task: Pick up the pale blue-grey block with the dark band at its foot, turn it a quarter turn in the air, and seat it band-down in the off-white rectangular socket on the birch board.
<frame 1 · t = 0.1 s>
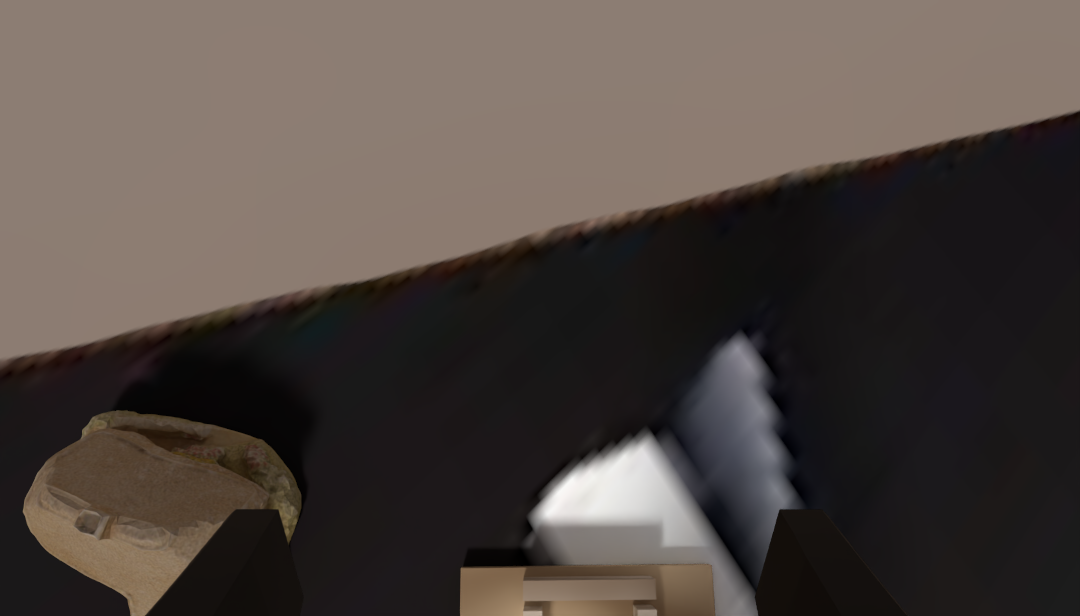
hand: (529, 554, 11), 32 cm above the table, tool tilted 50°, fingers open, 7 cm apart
ceramic model: (191, 517, 42), on the table
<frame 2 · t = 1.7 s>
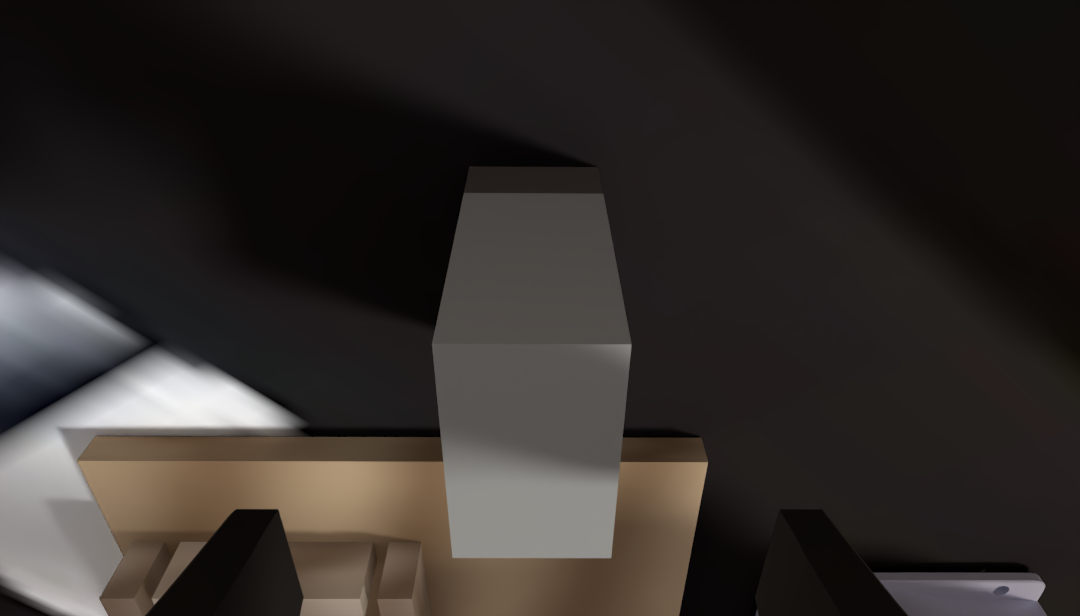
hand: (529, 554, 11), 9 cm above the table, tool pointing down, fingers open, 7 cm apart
birch board: (419, 584, 25), on the table
peg: (533, 260, 18), on the table
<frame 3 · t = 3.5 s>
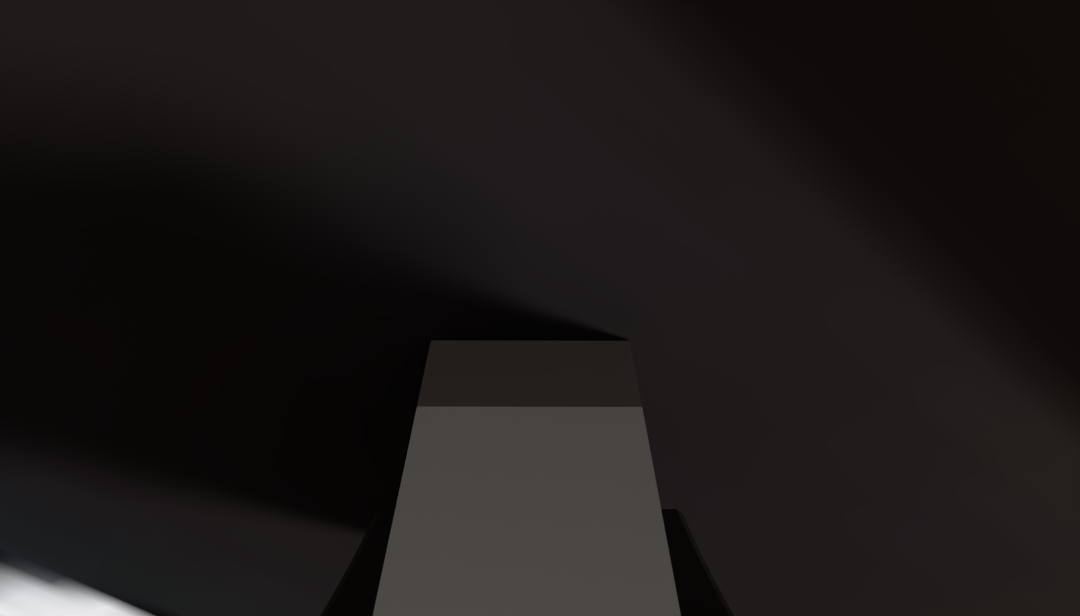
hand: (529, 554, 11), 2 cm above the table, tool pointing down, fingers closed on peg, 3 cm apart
peg: (530, 459, 12), on the table, touching gripper
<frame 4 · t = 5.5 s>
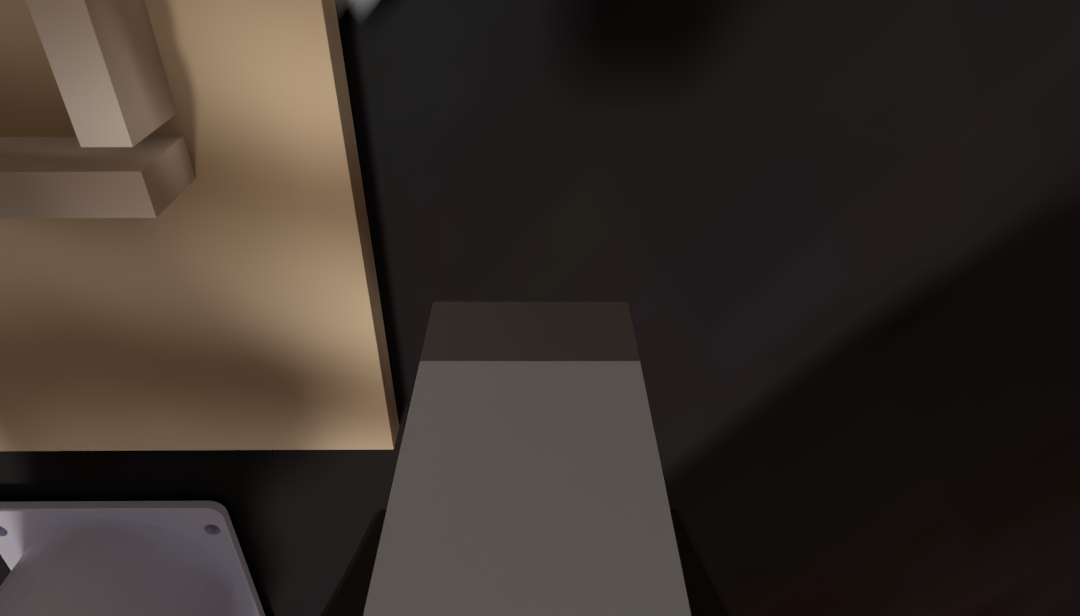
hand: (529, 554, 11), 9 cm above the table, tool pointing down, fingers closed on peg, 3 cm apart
birch board: (58, 142, 17), on the table
peg: (531, 423, 12), point 7 cm above the table, touching gripper
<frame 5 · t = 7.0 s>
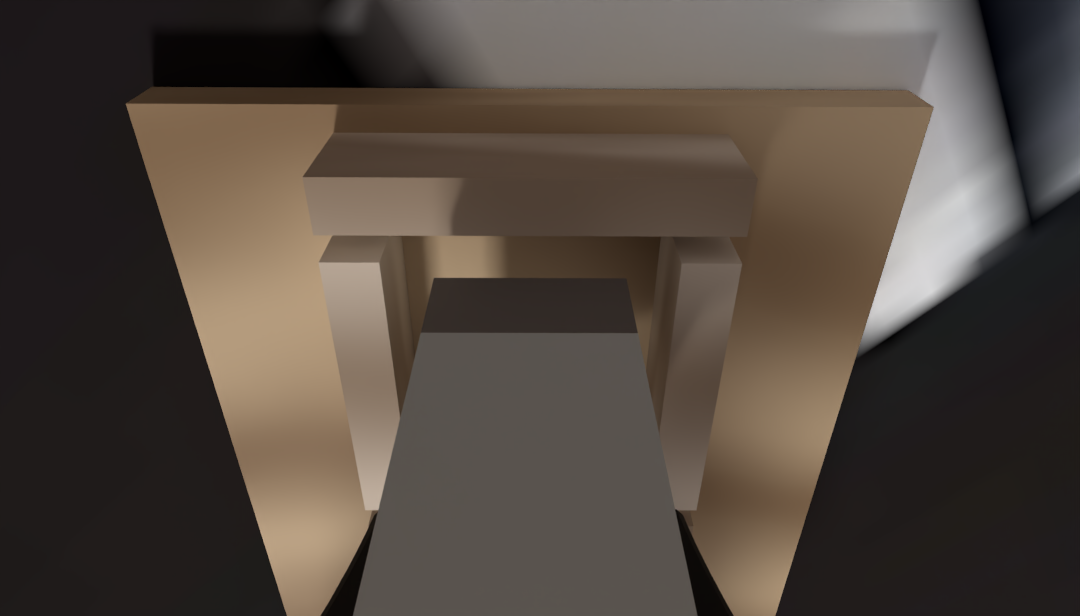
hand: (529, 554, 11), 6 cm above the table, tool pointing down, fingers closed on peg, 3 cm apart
birch board: (531, 444, 18), on the table
peg: (530, 401, 12), point 4 cm above the table, touching gripper
when the fingers open (4 cm above the table, at t = 7.9 s): peg stays where it is, resting on birch board.
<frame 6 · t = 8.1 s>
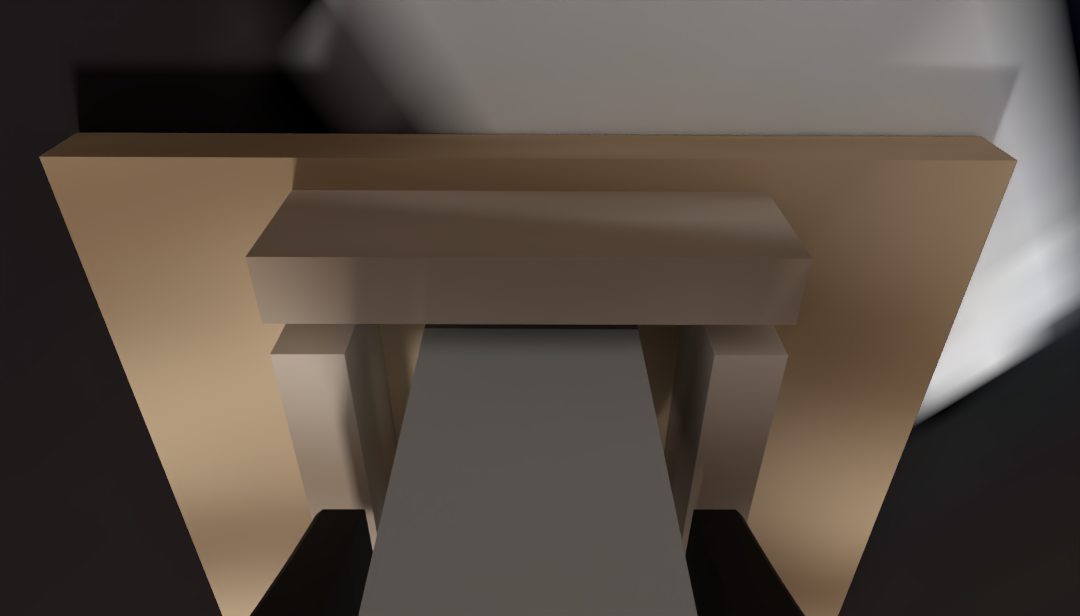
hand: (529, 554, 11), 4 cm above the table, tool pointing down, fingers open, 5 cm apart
birch board: (531, 523, 16), on the table
peg: (531, 395, 13), point 1 cm above the table, touching birch board
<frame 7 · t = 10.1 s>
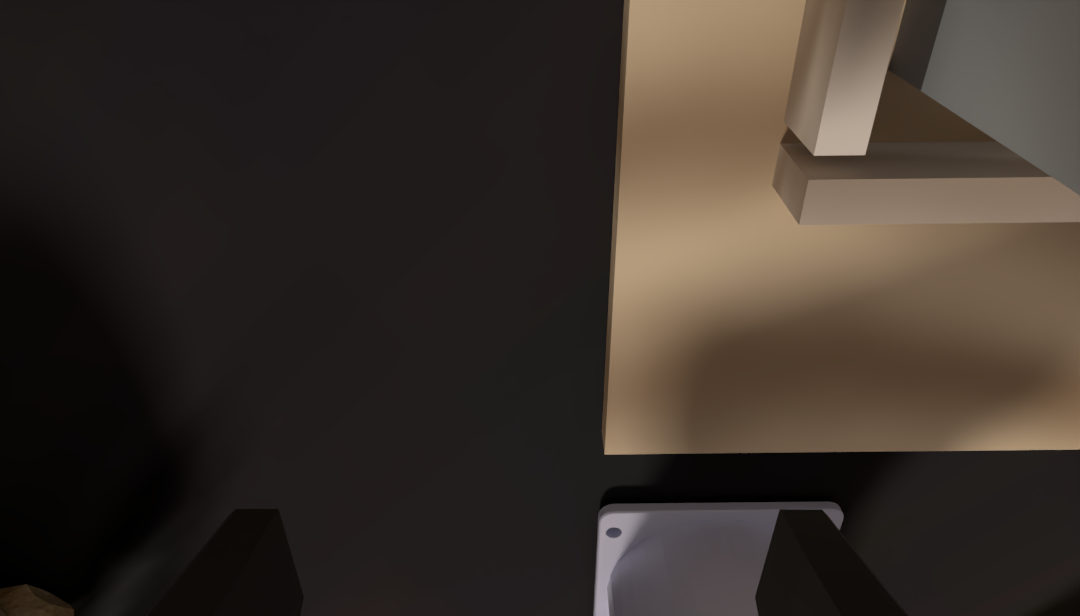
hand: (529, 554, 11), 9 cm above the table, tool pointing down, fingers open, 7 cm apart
birch board: (911, 147, 17), on the table
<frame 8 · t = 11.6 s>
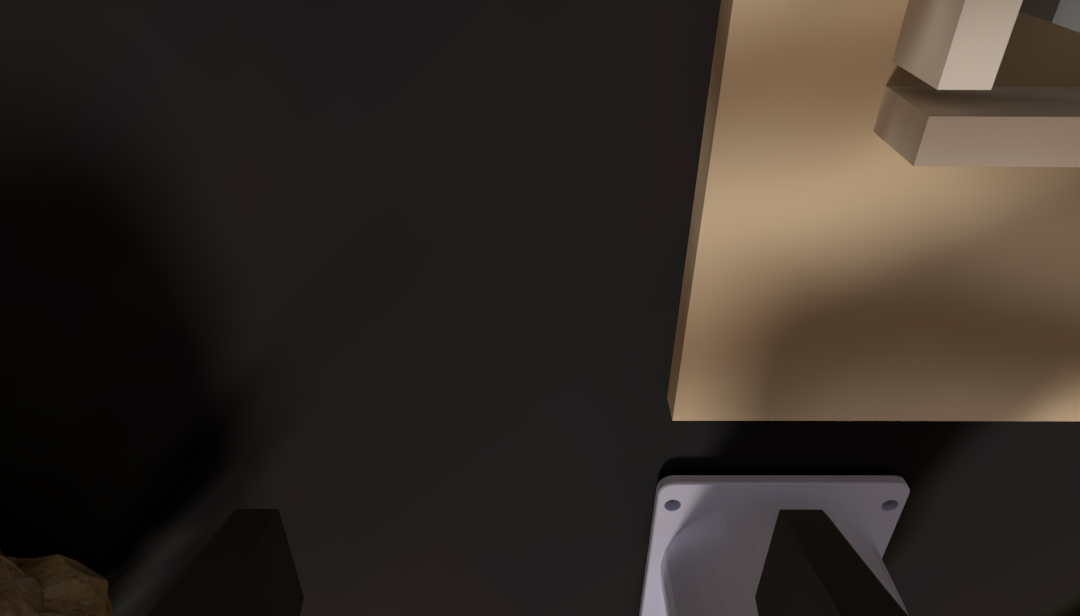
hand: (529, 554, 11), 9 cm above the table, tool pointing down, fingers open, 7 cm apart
birch board: (1014, 95, 16), on the table
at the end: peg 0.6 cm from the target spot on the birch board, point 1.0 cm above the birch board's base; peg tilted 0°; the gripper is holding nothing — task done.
